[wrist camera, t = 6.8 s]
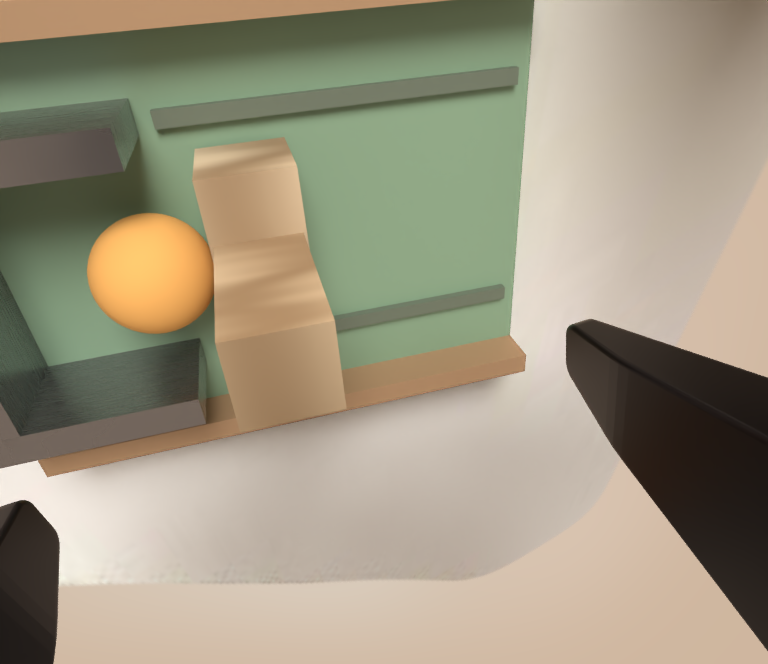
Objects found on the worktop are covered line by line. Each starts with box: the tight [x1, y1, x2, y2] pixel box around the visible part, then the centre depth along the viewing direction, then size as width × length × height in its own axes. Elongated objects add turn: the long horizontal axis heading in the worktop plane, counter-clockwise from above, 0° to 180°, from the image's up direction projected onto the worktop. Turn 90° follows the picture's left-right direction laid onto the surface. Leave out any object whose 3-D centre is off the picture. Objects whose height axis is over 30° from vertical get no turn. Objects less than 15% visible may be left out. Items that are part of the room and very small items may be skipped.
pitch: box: [0, 0, 534, 477], centre depth 18 cm, size 18×14×2 cm
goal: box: [0, 98, 206, 468], centre depth 16 cm, size 6×9×4 cm, turn 4°
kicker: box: [192, 137, 347, 433], centre depth 15 cm, size 3×6×8 cm, turn 4°
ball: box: [87, 213, 214, 334], centre depth 16 cm, size 4×4×4 cm
